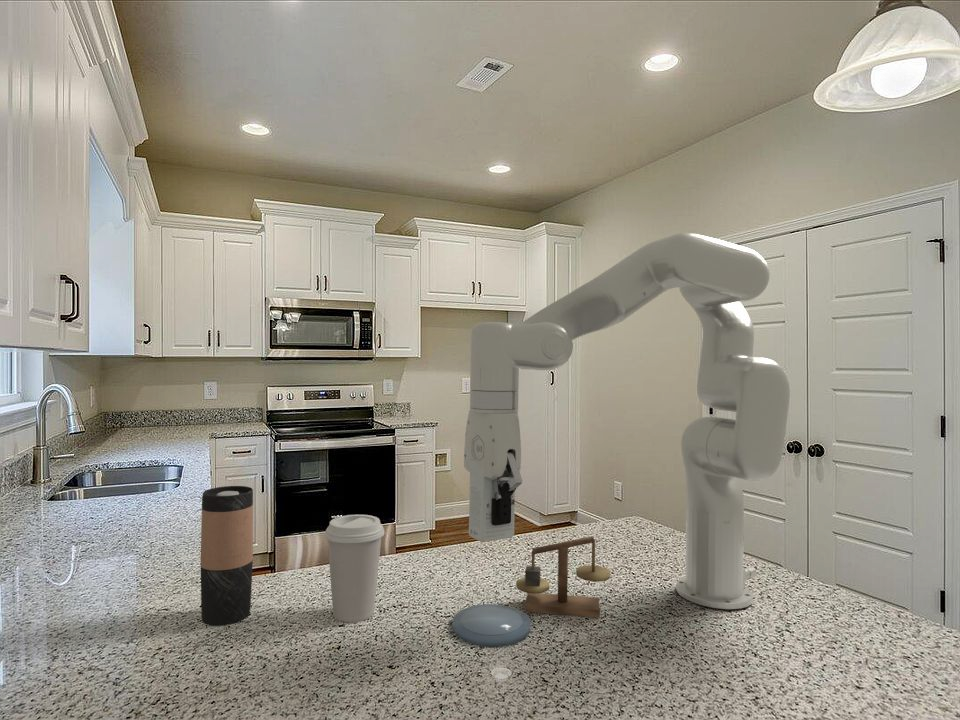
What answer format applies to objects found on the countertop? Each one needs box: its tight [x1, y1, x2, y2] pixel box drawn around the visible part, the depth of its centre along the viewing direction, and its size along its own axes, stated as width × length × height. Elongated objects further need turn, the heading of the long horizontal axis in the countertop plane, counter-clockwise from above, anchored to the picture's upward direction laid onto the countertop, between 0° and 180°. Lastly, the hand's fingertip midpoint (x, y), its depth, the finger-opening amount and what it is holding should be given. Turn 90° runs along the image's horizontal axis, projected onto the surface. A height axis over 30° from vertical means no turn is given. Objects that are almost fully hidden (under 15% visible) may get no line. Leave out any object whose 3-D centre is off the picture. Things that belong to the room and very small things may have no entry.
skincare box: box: [468, 458, 516, 543], centre depth 88 cm, size 6×4×12 cm
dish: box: [452, 603, 531, 647], centre depth 88 cm, size 12×12×1 cm
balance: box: [515, 535, 611, 619], centre depth 95 cm, size 16×6×12 cm, turn 81°
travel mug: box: [200, 485, 254, 627], centre depth 91 cm, size 8×8×20 cm
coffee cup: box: [324, 514, 385, 623], centre depth 92 cm, size 10×10×15 cm
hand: (492, 518), depth 88 cm, fingers closed on skincare box, 4 cm apart
